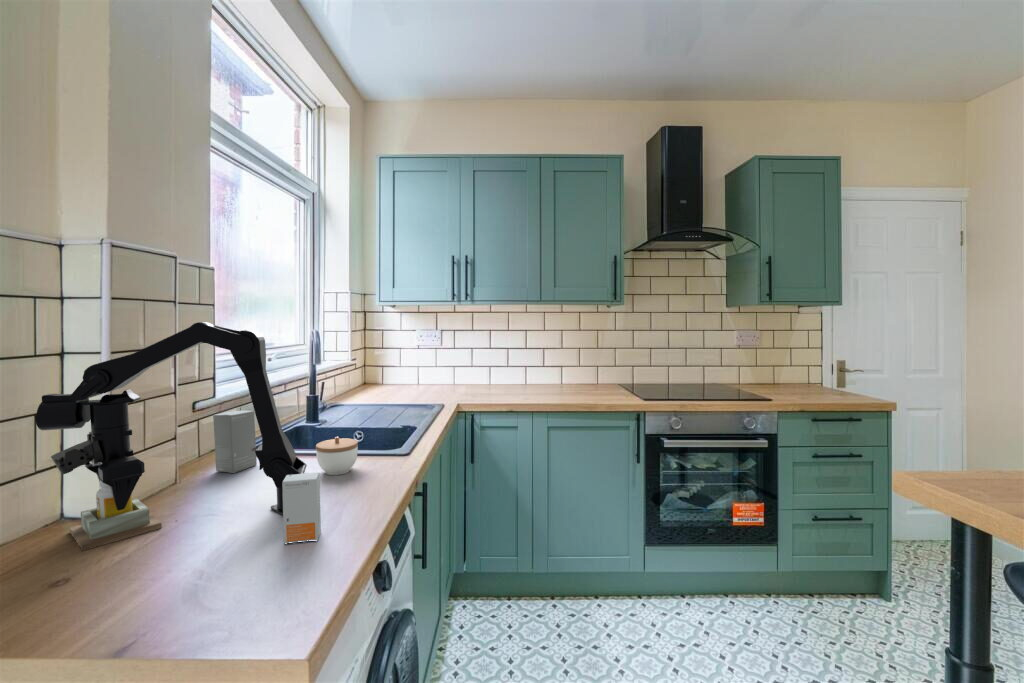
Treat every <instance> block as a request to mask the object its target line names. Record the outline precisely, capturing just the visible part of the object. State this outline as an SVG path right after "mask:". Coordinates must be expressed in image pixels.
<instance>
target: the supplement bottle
mask: <svg viewBox="0 0 1024 683" xmlns="http://www.w3.org/2000/svg"><path fill="white" fill-rule="evenodd" d="M99 485H100V489H98V490H97V491H96V494H95V499H96V500H95V501H96V508H97V518H98V520H100V519H104V518H107V517H111V516H115V515H119V514H123V513H127V512H131V511H133V510H132V499H133V498H132V497H133V496H132V494H131V496H130V498H129V500H128V502H127V505H126V507H125V509H122V510H117V508H116V505H115V502H114V498H113V495H112V491H111V488H110V486H109V485H107V484H104V483H103V482H102V481H100V482H99Z"/></svg>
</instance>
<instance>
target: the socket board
mask: <svg viewBox="0 0 1024 683" xmlns="http://www.w3.org/2000/svg"><path fill="white" fill-rule="evenodd" d="M132 510H133V511H131V512H127V513H123V514H119V515H115V516H111V517H107V518H104V519H100V520H98V518H97V507H95V508H91V509H87V510H82V511H80V522H81V524H78V525H77V524H76V525H73V526H70V527H69V533H70V532H71V533H70V534H72V535H71V536H72V538H73V537H74V538H73V539H74V541H75V540H76V541H75V542H76V544H77V543H78V544H77V545H78V546H79V548H80V547H81V548H80V550H81V551H82V550H83V551H85V550H86V549H87V550H89V549H88V548H90V549H93V548H92V547H94V548H97V547H100V546H103V545H106V544H110V543H114V542H117V541H120V540H125V539H127V538H132V537H134V536H135V537H136V536H138V535H141V534H144V533H148V532H152V531H155V530H158V529H162V526H163V523H162V521H160V520H159V519H157V517H155V516H154V515H153V514H152V513H150V508H149V507H147V506H146V505H145V504H144V503H143V502H141V500H139V499H138V498H132ZM96 546H97V547H96Z"/></svg>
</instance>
